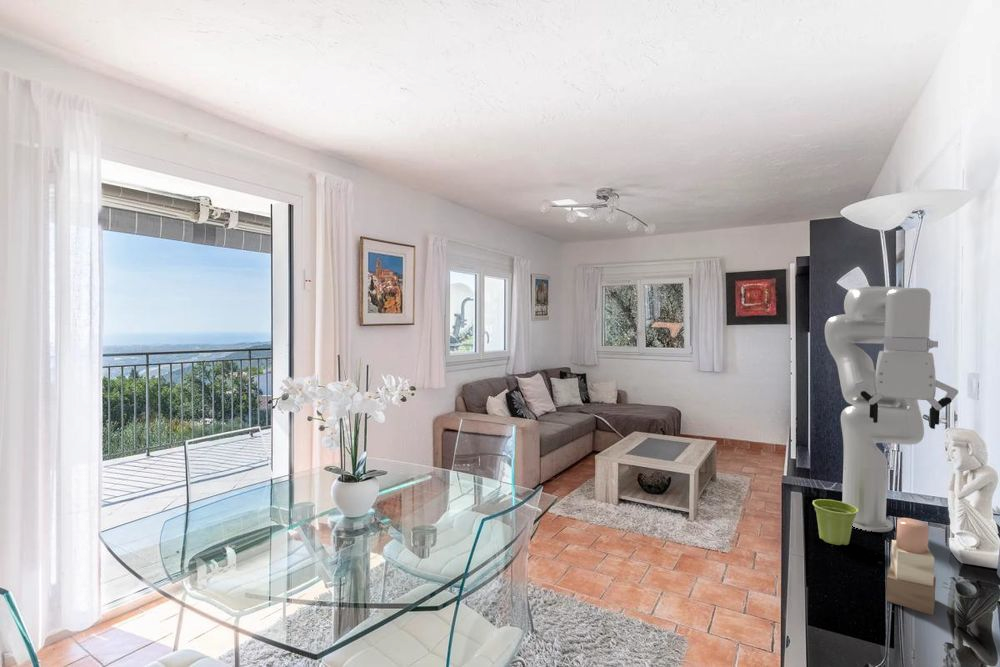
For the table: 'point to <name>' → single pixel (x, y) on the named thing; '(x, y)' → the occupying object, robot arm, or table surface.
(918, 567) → the beech block
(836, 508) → the plant pot
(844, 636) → the table surface
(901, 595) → the walnut block
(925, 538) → the peach rounded solid
